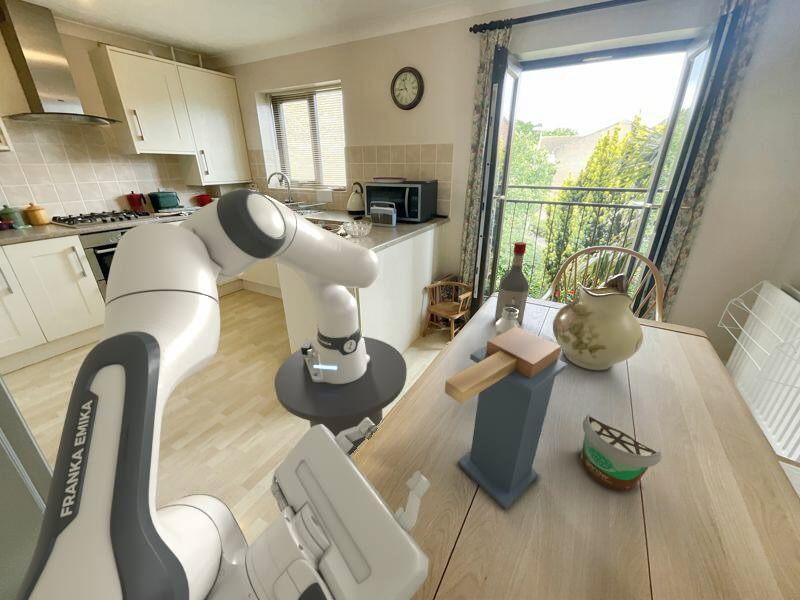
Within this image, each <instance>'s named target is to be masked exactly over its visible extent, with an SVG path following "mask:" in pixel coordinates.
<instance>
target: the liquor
mask: <svg viewBox="0 0 800 600" xmlns="http://www.w3.org/2000/svg"><path fill="white" fill-rule="evenodd" d="M513 245H514V246H513V251H512V252H513V257H512V264H511V266H510V269H509V270H508V271H506V272H505V273H504V274H503V275H502V276H501V277H500V279H499V286H498V293H497V298H496V299H497V300H496V307H495V312H494V313H495V314H494V320H495V323H496V322H497V321H498V320H499V319H500V318H502V312H503V308H505V307H511V308H515V309H517V310H518V317H517V319H516V320H517V322H518V323H519V325H520V328H521V327H522V326H523V321H524V315H525V310H526V304H527V299H528V295H529V294H528V293H529V289H530V285H529V281H528V278H527V276H526V275H525V274H524V272H523V263H524V256H525V254H526V249H527V243H526V242H523V241H515V242H514V244H513Z"/></svg>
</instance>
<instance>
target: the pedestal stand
mask: <svg viewBox="0 0 800 600" xmlns="http://www.w3.org/2000/svg"><path fill="white" fill-rule="evenodd" d="M486 349H487V345H485V346H483V347H482V348H479V349H477V350H475V351H474V352H472V353H470V356H469V359H470V360H471V361H472V362H474V363H475V364H477V363H479V362H480V361H482V360H484V359H486V358H488V357H490V356H489V355H487V354H486ZM567 367H568V363H566V362H564V361H562V360H561V359H558V360H556V361H555V362H553V363H552V364H551V365H549V366H548V367H546V368H545V369H543V370H542V371H540V372H539V373H538V374H536V375H535V376H533V377H532V378H528V377H527V376H525V375H523V374H521V373H519V372H518V371H516V370H514V371H513V372H511V373H510V374H508V375H507V376H505V377H503V378H502V379H500V380H499V381H497V382H496V383H494V384H492V385H491V386H489V387H488V388H486V389H485V390H483V391H481V392H480V393H478V396H477V404H476V411H475V418H474V425H473V433H472V441H471V448H470V451H469V452H468V453H467V454H465V455H464V456H463V457H461V458H460V459H459V460H458V461H457V465H458V466H459V467H460V468H461V469H462V470H463V471H464V472H465V473H466V474H467V475H468V476H469V477H470V478H471V479H472V480H473V481H475V482H476V484H477V485H479V486H480V487H481V488H482V489H483V490H484V491H485V492H486V493H487V494H488V495H489V496H490V497H491V498H492V499H494V501H495V502H496V503H498V504H499V505H500V506H501V507H502V508H503V510H507V509H508V507H510V506H511V505H512V504H513V502H515V500H516V499H518V497H519V496H520V495H522V493H523V492H524V491H525V490H526V489H528V487H529V486H530V485H531V484H532V483H533V482H534V480H536V479H537V478H538V475H539V473H538V472H537V471H536V470H534V469H533V465H534V460H535V457H536V454H537V450H538V446H539V442H540V438H541V434H542V432H543V431H542V430H543V426H544V423H545V418H546V414H547V411H548V407H549V403H550V399H551V395H552V391H553V387H554V384H555V380H556V378H557V376H559V375H560V374H562V372H564V371H565V370H567Z"/></svg>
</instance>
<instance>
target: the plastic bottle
mask: <svg viewBox="0 0 800 600" xmlns="http://www.w3.org/2000/svg"><path fill="white" fill-rule="evenodd" d="M517 317H518V310H517V309H515V308H511V307H505V308H503V312H502V318H500V319H499V320H498V321H497V322H496V321H495V324H494V327H493V329H494V331H493V332H494V337H496V336H498V335H500V334H502V333H504V332H506V331H508V330H510V329H512V328H514V327H516V326H517V327H519V328H521V327H520V325H519V323H518V322H517V320H516V319H517Z"/></svg>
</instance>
